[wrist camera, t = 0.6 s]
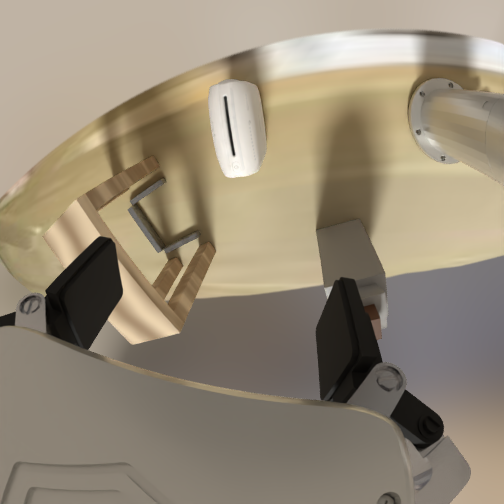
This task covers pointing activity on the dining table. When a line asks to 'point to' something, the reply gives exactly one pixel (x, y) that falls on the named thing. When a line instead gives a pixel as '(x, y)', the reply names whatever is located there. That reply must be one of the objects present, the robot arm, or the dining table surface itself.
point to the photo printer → (237, 127)
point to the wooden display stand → (130, 263)
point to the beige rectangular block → (355, 267)
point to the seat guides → (148, 228)
